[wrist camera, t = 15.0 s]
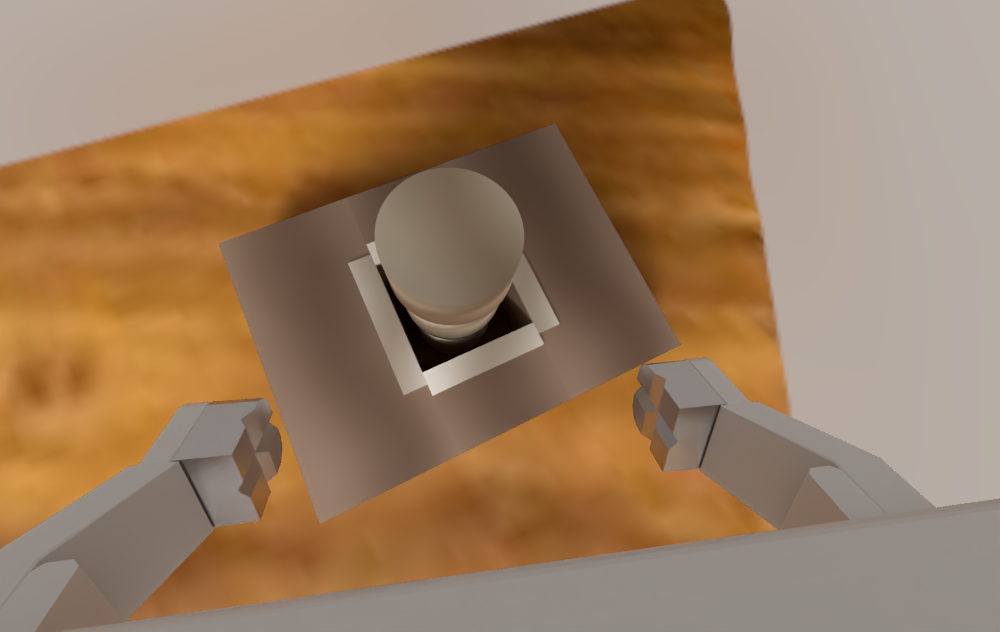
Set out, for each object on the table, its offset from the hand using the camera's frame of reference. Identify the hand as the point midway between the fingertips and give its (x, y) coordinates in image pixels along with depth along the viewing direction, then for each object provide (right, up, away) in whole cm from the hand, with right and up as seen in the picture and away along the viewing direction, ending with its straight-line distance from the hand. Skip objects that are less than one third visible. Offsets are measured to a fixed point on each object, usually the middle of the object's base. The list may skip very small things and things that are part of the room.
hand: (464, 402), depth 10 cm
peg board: (-1, +2, +13) cm, 13 cm away
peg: (-2, +2, +13) cm, 13 cm away
